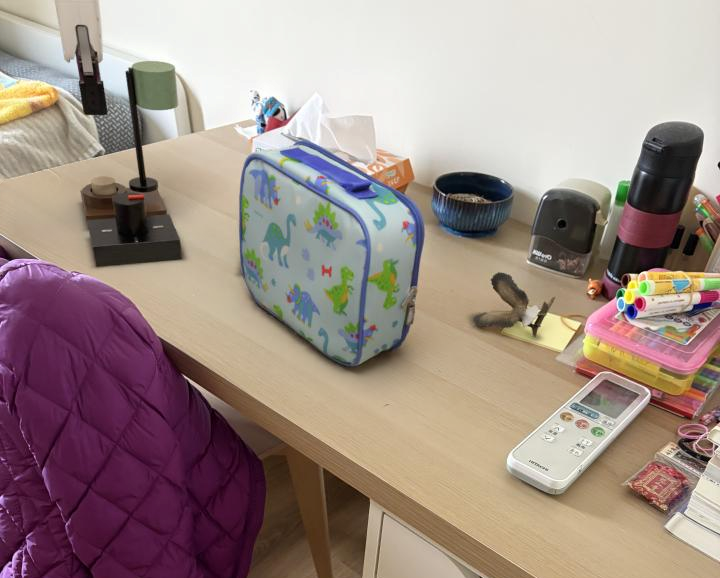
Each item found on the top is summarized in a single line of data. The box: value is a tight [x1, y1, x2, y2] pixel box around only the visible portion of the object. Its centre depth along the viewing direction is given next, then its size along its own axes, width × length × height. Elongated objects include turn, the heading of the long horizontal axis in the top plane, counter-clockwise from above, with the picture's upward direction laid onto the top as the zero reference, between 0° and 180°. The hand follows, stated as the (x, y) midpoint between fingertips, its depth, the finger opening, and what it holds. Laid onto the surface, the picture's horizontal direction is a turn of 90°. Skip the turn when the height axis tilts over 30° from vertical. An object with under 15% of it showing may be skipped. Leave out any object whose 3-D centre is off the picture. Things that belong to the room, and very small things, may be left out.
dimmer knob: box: [112, 193, 148, 236], centre depth 102 cm, size 4×4×5 cm
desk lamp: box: [124, 60, 179, 193], centre depth 108 cm, size 9×6×17 cm
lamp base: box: [79, 182, 168, 231], centre depth 113 cm, size 12×10×4 cm
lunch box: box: [238, 140, 426, 367], centre depth 87 cm, size 26×11×21 cm, turn 40°
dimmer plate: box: [86, 213, 183, 267], centre depth 105 cm, size 12×9×3 cm
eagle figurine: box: [473, 271, 556, 338], centre depth 95 cm, size 8×7×9 cm
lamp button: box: [90, 175, 117, 195], centre depth 111 cm, size 4×4×2 cm
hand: (95, 113), depth 101 cm, fingers closed
